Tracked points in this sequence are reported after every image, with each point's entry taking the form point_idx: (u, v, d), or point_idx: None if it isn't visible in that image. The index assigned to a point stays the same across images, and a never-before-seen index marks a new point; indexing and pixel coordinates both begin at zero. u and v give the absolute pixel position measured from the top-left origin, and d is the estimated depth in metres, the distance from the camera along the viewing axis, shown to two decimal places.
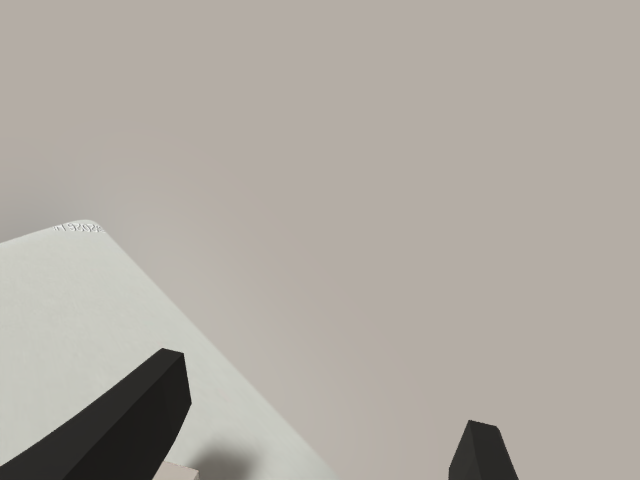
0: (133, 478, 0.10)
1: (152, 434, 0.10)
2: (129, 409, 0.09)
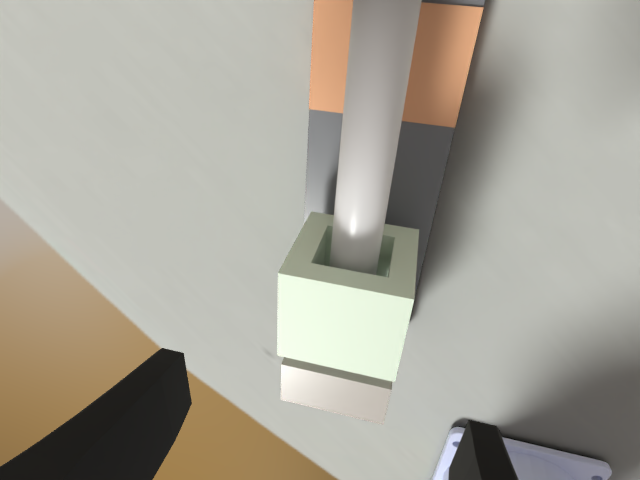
0: (133, 478, 0.10)
1: (152, 434, 0.10)
2: (129, 409, 0.09)
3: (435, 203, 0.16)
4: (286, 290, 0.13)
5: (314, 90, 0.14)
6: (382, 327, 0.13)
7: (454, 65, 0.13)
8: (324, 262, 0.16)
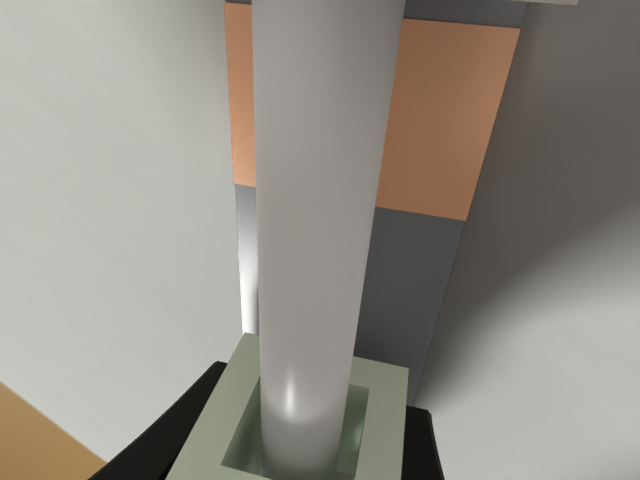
0: None
1: None
2: None
3: (434, 322, 0.10)
4: None
5: (239, 156, 0.09)
6: None
7: (466, 125, 0.08)
8: None
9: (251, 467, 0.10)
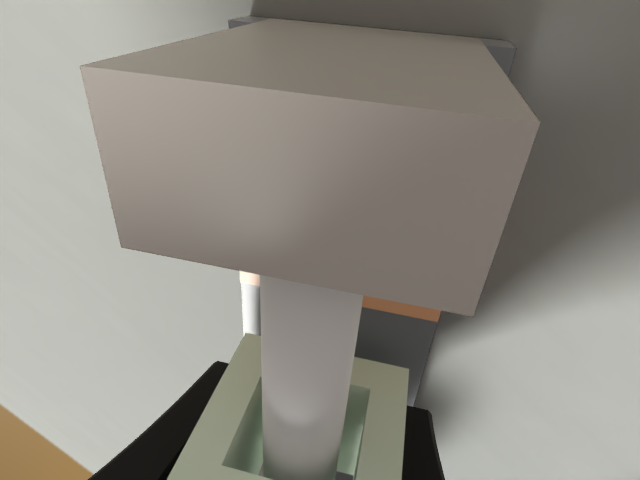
0: None
1: None
2: None
3: (413, 396, 0.12)
4: None
5: None
6: None
7: None
8: None
9: (252, 467, 0.10)
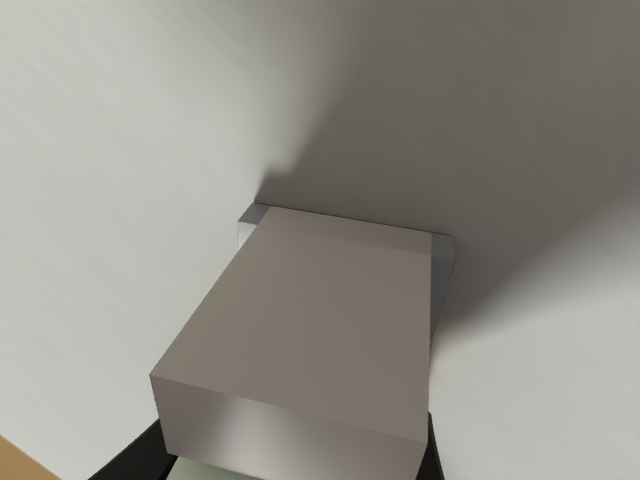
0: None
1: None
2: None
3: None
4: None
5: None
6: None
7: None
8: None
9: None
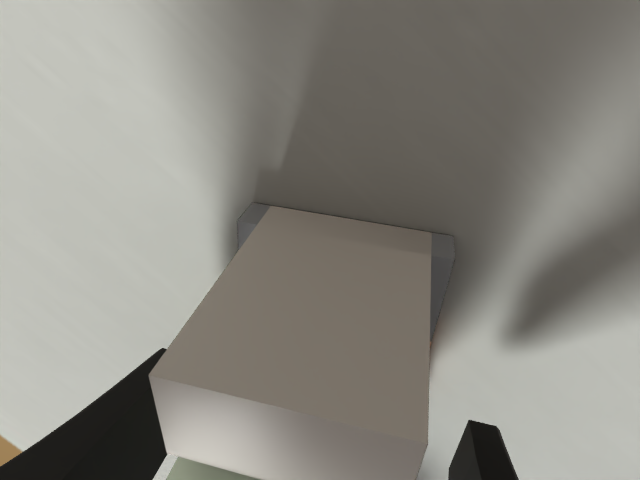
0: (133, 478, 0.10)
1: (152, 434, 0.10)
2: (129, 409, 0.09)
3: None
4: None
5: None
6: None
7: None
8: None
9: None
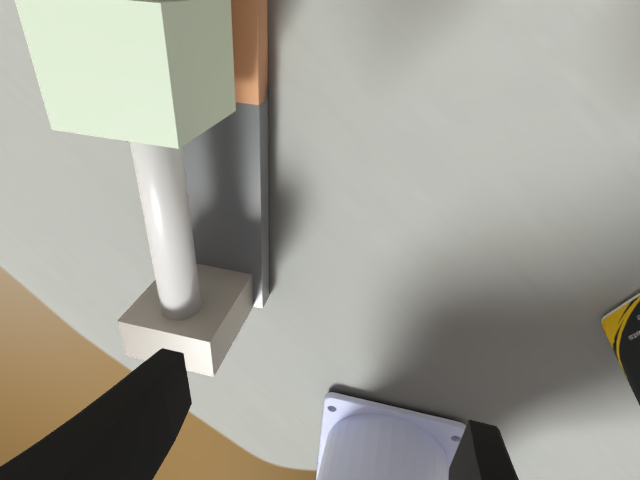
0: (133, 478, 0.10)
1: (152, 434, 0.10)
2: (129, 409, 0.09)
3: (259, 175, 0.17)
4: (28, 17, 0.11)
5: None
6: (141, 59, 0.11)
7: (245, 48, 0.15)
8: None
9: None
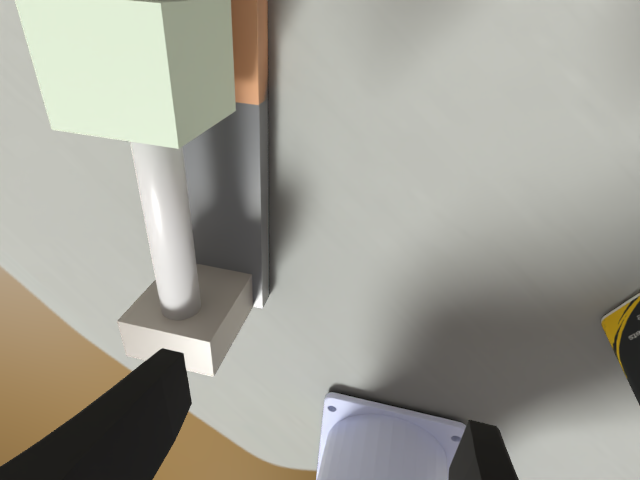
0: (133, 478, 0.10)
1: (152, 434, 0.10)
2: (129, 409, 0.09)
3: (259, 175, 0.17)
4: (28, 17, 0.11)
5: None
6: (141, 59, 0.11)
7: (245, 48, 0.15)
8: None
9: None
